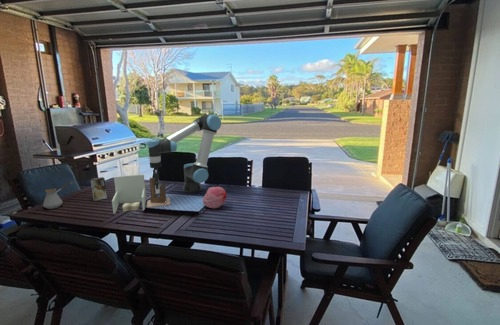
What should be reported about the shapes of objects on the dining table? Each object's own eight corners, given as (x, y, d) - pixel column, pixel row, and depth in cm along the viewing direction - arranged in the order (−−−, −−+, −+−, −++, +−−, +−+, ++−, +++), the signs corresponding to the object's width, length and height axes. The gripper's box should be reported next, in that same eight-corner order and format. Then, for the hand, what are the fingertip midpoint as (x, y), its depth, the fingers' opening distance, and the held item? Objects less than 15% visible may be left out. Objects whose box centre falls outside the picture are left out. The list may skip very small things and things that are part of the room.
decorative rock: (233, 197, 192) (222, 179, 193) (229, 201, 178) (216, 182, 179) (212, 210, 196) (201, 193, 196) (206, 216, 182) (194, 197, 182)
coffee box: (106, 196, 215) (103, 176, 212) (107, 198, 210) (105, 178, 207) (93, 198, 210) (90, 178, 207) (94, 200, 205) (91, 180, 202)
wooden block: (164, 202, 196) (162, 178, 193) (150, 202, 197) (148, 178, 194) (166, 201, 200) (164, 177, 196) (152, 200, 201) (150, 177, 197)
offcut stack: (140, 206, 193) (140, 201, 193) (139, 210, 186) (139, 205, 186) (123, 208, 190) (123, 203, 189) (122, 212, 183) (121, 207, 182)
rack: (146, 199, 206) (143, 174, 202) (145, 209, 186) (142, 181, 182) (117, 203, 200) (114, 176, 196) (112, 213, 179) (109, 184, 175)
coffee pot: (50, 211, 186) (47, 190, 183) (39, 208, 190) (36, 188, 187) (79, 201, 205) (76, 181, 202) (69, 199, 210) (66, 180, 207)
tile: (169, 198, 208) (169, 197, 207) (170, 204, 195) (170, 203, 194) (147, 201, 203) (147, 200, 202) (146, 207, 190) (146, 206, 189)
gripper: (150, 159, 203) (152, 186, 207) (149, 165, 180) (151, 196, 184) (160, 158, 205) (162, 185, 209) (161, 164, 182) (163, 195, 186)
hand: (157, 190), depth 197 cm, fingers open, 13 cm apart
